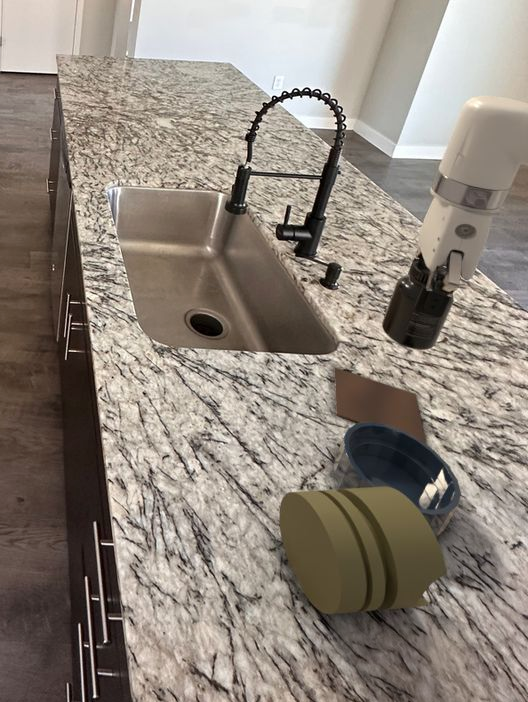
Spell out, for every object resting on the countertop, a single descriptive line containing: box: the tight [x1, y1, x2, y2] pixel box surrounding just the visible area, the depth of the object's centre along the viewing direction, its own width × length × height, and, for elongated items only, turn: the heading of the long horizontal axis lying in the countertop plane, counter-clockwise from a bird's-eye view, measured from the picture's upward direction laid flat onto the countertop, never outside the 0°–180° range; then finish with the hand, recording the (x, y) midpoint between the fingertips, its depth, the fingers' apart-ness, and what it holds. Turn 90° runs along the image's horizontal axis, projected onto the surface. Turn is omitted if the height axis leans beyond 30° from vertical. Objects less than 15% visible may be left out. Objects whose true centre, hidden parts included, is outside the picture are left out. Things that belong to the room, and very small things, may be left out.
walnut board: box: [333, 367, 427, 445], centre depth 88 cm, size 12×11×1 cm
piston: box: [278, 486, 448, 615], centre depth 62 cm, size 11×12×11 cm
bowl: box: [333, 422, 462, 538], centre depth 73 cm, size 13×13×6 cm
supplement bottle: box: [381, 260, 455, 351], centre depth 79 cm, size 7×7×12 cm
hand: (422, 297), depth 78 cm, fingers closed on supplement bottle, 6 cm apart
